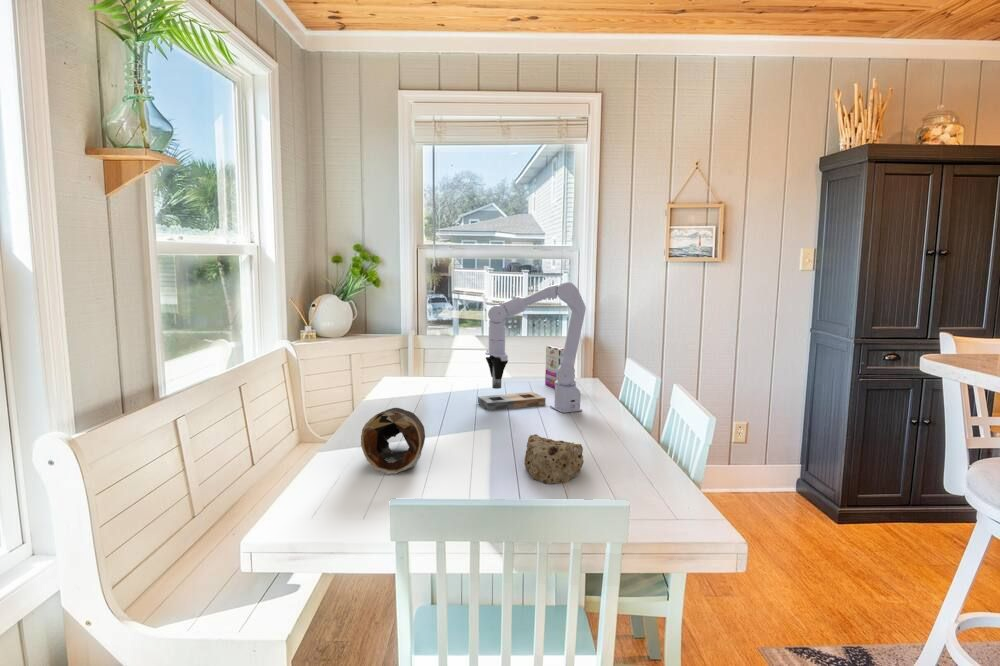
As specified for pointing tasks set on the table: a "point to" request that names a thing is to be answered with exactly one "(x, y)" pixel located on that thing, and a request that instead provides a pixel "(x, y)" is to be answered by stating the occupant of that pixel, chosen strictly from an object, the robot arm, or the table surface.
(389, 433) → the hollow brown log
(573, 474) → the rock
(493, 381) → the pin
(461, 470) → the table surface
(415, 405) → the table surface
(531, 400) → the dock board
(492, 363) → the robot arm
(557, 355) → the candy bar box
